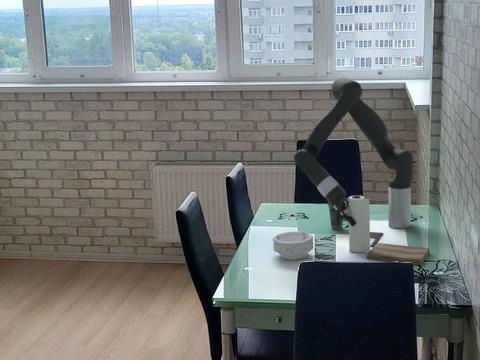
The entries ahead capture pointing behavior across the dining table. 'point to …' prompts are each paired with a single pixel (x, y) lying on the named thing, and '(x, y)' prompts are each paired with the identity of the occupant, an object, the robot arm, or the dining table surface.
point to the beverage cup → (335, 219)
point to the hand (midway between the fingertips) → (359, 222)
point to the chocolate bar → (374, 238)
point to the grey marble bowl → (293, 244)
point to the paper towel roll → (359, 224)
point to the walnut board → (398, 253)
